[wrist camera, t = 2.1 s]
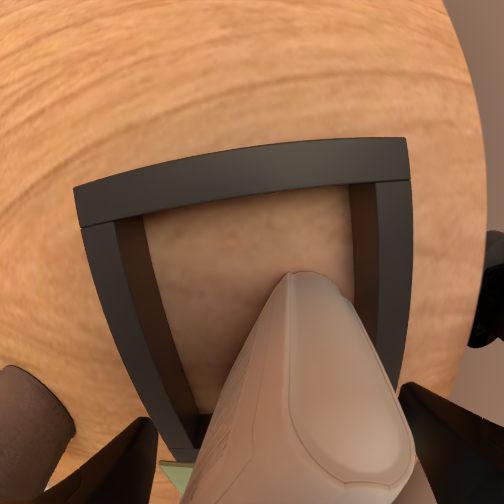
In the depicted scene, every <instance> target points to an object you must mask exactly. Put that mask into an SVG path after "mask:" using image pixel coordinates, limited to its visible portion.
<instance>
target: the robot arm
mask: <svg viewBox="0 0 504 504" xmlns="http://www.w3.org/2000/svg"><path fill="white" fill-rule="evenodd" d="M489 330H490V331H491V332H492V333H494V334H495V335H496V336H497V337H499V338H500V339H501V340H502V341H504V263H501V264H498V265H495V266H492V267H489V268H487V269H486V270H485V272H484V277H483V284H482V290H481V296H480V302H479V307H478V312H477V317H476V321H475V325H474V330H473V333H474V334H475V335H476V336H478V335H480V334H482V333H484V332H486V331H489ZM398 401H399V403H400V405H401V408H402V410H403V413H404V415H405V418H406V420H407V423H408V425H409V428H410V430H411V433H412V436H413V439H414V444H415V452H416V454H417V456H418V459H419V460H420V463H421V465H422V468H423V470H424V472H425V475H426V477H427V479H428V482H429V484H430V487H431V489H432V491H433V494H434V496H435V499H436V501H437V504H504V427H502V426H499V425H497V424H495V423H493V422H490V421H488V420H486V419H484V418H483V419H482V417H480V416H478V415H476V414H474V413H472V412H470V411H468V410H466V409H464V408H462V407H460V406H458V405H456V404H454V403H452V402H450V401H449V400H447V399H445V398H443V397H441V396H439V395H437V394H435V393H433V392H431V391H429V390H428V389H426V388H424V387H422V386H420V385H418V384H416V383H415V382H408V383H405V384H403V385H402V386H401V389H400V393H399V397H398ZM157 446H158V431H157V429H156V427H155V425H154V424H153V422H152V420H151V419H150V418H149V417H138V418H137V419H136V420H135V421H133V422H132V423H131V424H130V425H129V426H128V427H127V428H125V429H124V430H123V431H122V432H121V433H120V434H119V435H117V436H116V437H115V438H114V439H113V440H112V441H111V442H109V443H108V444H107V445H106V446H105V447H104V448H102V449H101V450H100V451H99V452H98V453H96V454H95V455H94V456H93V457H92V458H90V459H89V460H88V461H87V462H86V463H84V464H83V465H82V466H81V467H80V468H79V469H77V470H76V471H74V472H73V473H72V474H71V475H69V476H68V477H67V478H65V479H64V480H62V481H61V482H59V483H58V484H56V485H55V486H53V487H52V488H50V489H48V490H46V491H45V492H43V493H41V494H40V495H38V496H36V497H34V498H31V499H28V500H10V499H0V504H149V499H150V494H151V489H152V484H153V479H154V474H155V469H156V458H157Z"/></svg>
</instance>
